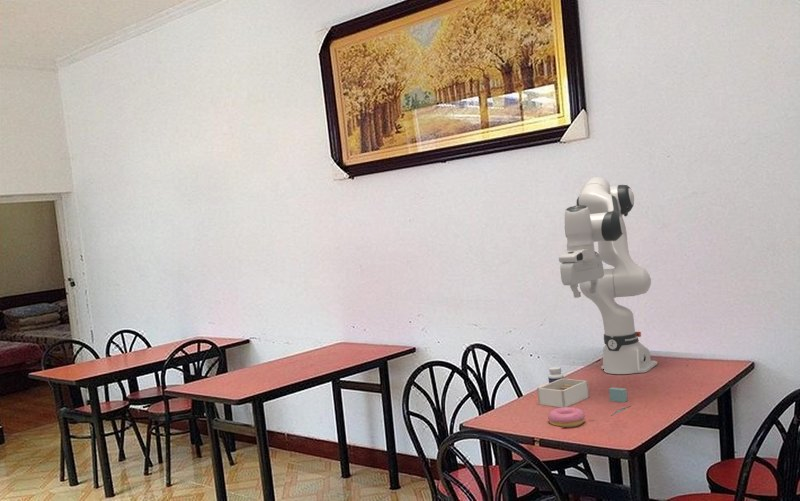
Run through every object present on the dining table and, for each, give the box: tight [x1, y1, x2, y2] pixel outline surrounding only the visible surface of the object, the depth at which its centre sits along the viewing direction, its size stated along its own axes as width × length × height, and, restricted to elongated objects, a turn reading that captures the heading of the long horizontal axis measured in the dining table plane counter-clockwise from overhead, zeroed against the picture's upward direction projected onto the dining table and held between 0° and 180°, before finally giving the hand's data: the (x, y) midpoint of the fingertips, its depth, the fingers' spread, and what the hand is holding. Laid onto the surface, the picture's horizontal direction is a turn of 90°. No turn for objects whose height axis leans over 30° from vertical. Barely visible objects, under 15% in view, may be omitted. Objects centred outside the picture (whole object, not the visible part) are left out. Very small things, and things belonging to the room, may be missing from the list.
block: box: [560, 385, 574, 390], centre depth 236 cm, size 4×4×4 cm
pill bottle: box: [547, 366, 565, 384], centre depth 247 cm, size 5×5×9 cm
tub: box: [536, 378, 590, 408], centre depth 234 cm, size 14×10×6 cm
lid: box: [608, 386, 632, 417], centre depth 223 cm, size 15×11×5 cm
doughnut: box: [547, 406, 586, 428], centre depth 212 cm, size 11×11×4 cm
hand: (585, 295), depth 237 cm, fingers open, 8 cm apart
